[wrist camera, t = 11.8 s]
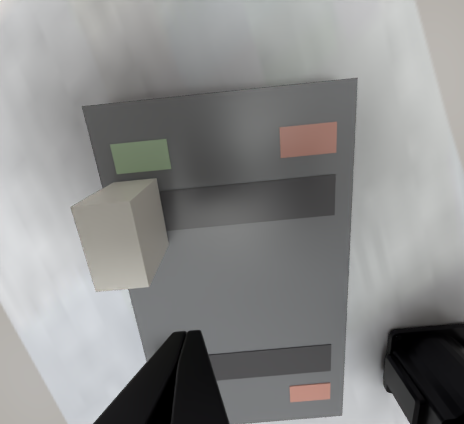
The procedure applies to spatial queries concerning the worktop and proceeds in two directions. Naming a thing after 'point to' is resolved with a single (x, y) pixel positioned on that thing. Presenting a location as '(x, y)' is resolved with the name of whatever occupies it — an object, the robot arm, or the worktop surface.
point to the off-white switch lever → (122, 234)
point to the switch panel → (247, 234)
